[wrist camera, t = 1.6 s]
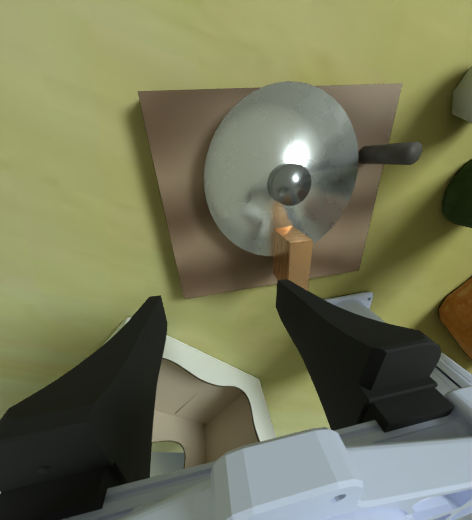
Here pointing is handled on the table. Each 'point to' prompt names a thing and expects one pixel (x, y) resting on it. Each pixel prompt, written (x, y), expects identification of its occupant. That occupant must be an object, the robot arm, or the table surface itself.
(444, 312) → the bread
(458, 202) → the wine bottle
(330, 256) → the walnut board
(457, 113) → the salt shaker
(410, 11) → the table surface
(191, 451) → the gable box
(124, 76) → the table surface
